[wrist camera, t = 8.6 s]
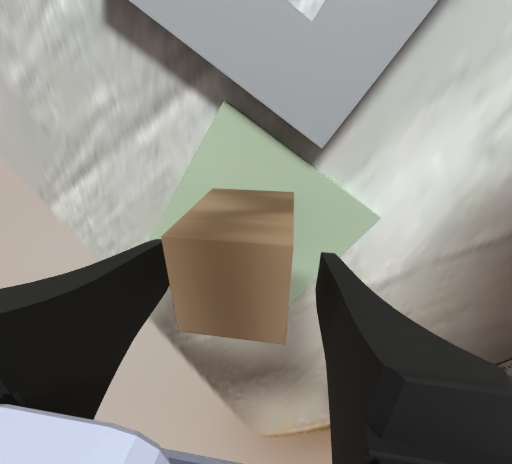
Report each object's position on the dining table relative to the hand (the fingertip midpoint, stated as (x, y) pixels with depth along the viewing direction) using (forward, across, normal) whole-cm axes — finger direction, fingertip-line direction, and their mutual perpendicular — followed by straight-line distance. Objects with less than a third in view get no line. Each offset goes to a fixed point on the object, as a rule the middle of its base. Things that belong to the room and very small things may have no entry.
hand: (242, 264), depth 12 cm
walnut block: (+3, 0, 0) cm, 3 cm away
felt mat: (+4, 0, 0) cm, 4 cm away
